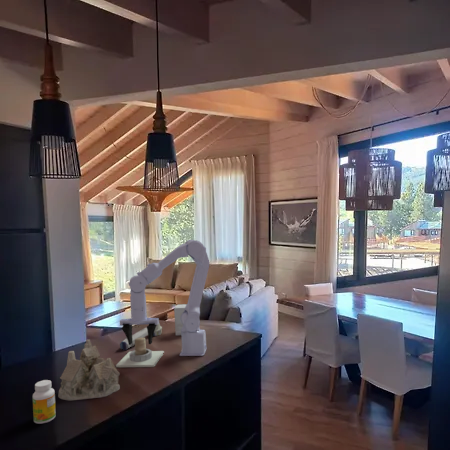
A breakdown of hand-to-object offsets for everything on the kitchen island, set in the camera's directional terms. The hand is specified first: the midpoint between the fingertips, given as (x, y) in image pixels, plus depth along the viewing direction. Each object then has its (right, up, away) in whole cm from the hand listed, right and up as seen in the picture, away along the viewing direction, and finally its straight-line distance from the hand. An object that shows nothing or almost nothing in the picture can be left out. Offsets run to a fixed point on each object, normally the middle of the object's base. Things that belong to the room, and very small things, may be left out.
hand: (140, 343), depth 142 cm
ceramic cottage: (-10, -7, -24) cm, 28 cm away
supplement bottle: (-17, -8, -41) cm, 44 cm away
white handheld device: (-4, -7, +23) cm, 24 cm away
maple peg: (0, -5, 0) cm, 5 cm away
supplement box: (+13, -5, +32) cm, 35 cm away
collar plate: (0, -6, 0) cm, 6 cm away
